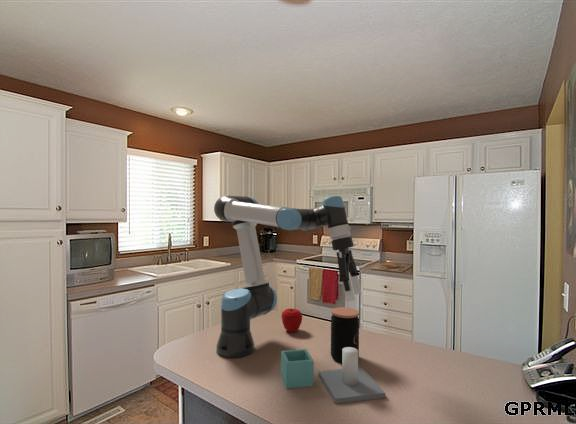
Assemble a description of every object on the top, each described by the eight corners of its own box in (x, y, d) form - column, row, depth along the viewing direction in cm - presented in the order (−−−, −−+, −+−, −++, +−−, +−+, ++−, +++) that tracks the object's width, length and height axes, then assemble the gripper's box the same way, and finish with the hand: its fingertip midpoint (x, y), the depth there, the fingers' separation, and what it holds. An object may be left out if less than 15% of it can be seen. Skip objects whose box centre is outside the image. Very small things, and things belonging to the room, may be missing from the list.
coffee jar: (359, 365, 114) (359, 316, 114) (329, 362, 116) (330, 314, 116) (358, 353, 124) (358, 308, 124) (331, 350, 126) (331, 306, 126)
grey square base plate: (318, 375, 106) (318, 342, 106) (361, 371, 109) (362, 338, 110) (335, 403, 91) (335, 364, 91) (385, 397, 94) (385, 359, 94)
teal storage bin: (280, 374, 107) (281, 350, 107) (305, 371, 109) (306, 348, 109) (286, 388, 98) (286, 363, 98) (313, 385, 100) (313, 360, 100)
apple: (306, 330, 148) (306, 307, 148) (293, 336, 140) (293, 312, 140) (290, 325, 154) (290, 303, 154) (277, 330, 147) (277, 307, 147)
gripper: (343, 235, 100) (358, 302, 97) (357, 236, 123) (370, 290, 120) (321, 240, 103) (335, 305, 99) (339, 240, 126) (351, 292, 122)
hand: (354, 297), depth 109 cm, fingers open, 13 cm apart
